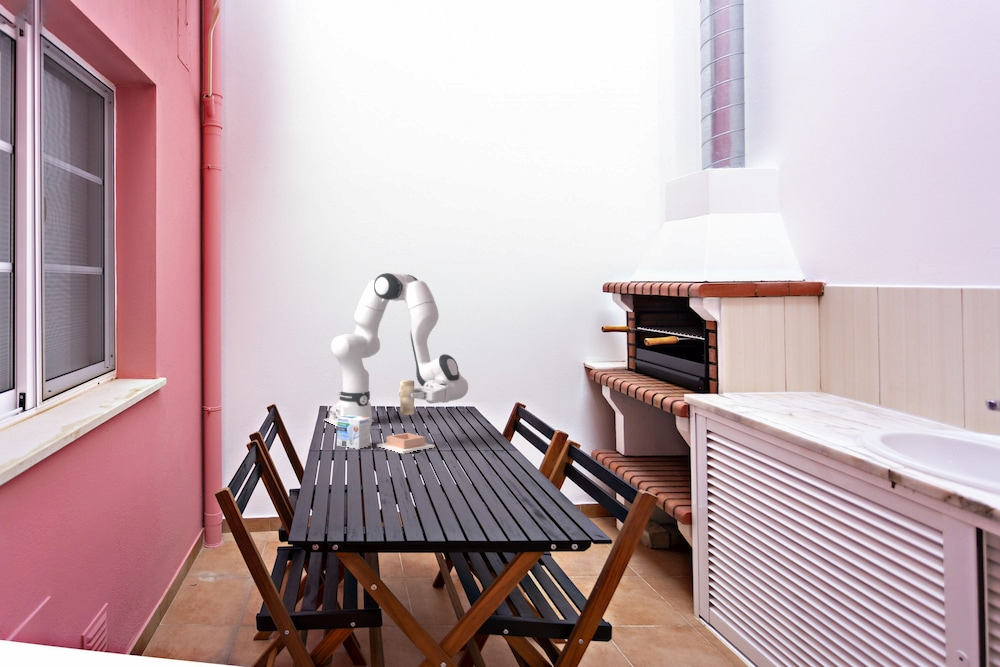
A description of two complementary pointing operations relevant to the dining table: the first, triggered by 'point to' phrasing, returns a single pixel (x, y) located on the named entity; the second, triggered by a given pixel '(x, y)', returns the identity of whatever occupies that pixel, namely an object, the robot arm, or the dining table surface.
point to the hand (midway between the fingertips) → (405, 394)
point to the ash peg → (406, 398)
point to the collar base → (405, 443)
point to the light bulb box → (353, 431)
